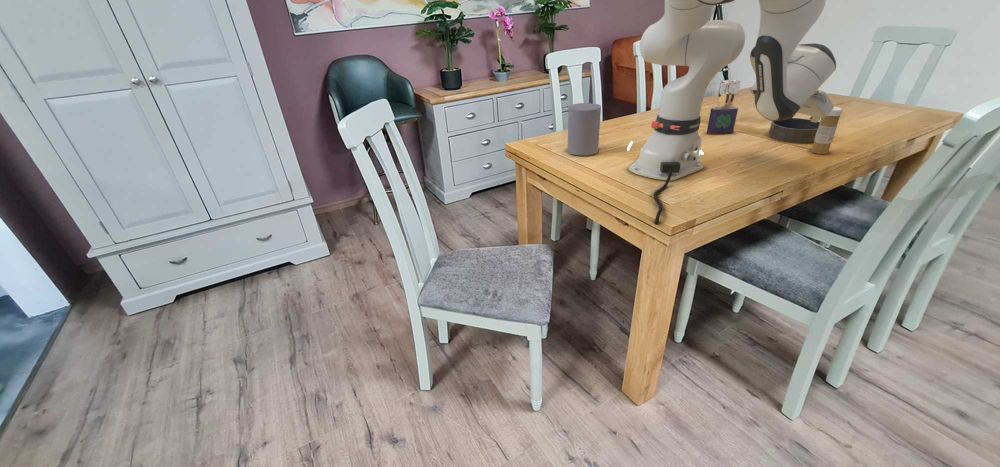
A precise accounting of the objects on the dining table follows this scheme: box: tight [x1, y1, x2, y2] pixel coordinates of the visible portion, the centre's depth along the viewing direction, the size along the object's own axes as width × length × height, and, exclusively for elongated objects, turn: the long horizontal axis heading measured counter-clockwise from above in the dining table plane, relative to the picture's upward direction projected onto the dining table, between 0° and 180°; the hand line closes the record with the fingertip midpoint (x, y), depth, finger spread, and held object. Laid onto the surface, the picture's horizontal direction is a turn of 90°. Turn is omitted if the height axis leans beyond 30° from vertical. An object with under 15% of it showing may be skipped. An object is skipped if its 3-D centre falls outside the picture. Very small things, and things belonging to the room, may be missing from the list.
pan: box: [768, 117, 820, 144], centre depth 141 cm, size 15×15×4 cm
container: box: [566, 102, 602, 157], centre depth 137 cm, size 10×10×15 cm
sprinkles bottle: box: [810, 106, 844, 155], centre depth 124 cm, size 5×5×14 cm
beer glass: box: [716, 79, 742, 108], centre depth 159 cm, size 7×7×15 cm
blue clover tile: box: [706, 103, 739, 135], centre depth 147 cm, size 9×3×11 cm, turn 88°
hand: (799, 116), depth 119 cm, fingers open, 8 cm apart
